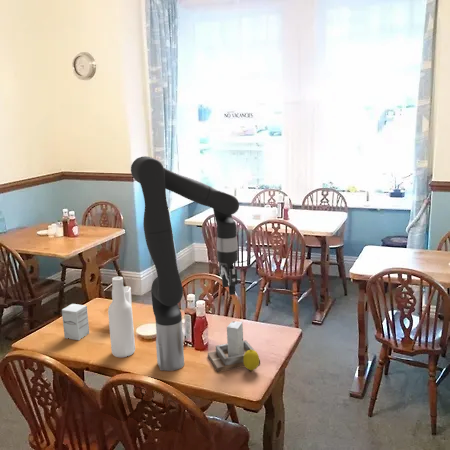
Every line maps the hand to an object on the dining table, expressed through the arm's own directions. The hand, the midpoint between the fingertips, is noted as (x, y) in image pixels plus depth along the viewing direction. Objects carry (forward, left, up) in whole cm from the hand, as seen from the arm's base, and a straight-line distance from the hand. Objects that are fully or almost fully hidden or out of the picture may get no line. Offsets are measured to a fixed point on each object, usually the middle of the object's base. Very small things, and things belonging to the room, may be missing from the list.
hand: (228, 290), depth 191 cm
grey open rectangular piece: (-2, -8, -24) cm, 25 cm away
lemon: (+2, -18, -24) cm, 30 cm away
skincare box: (-1, -8, -22) cm, 24 cm away
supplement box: (-55, +35, -24) cm, 69 cm away
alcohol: (-39, +13, -24) cm, 47 cm away
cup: (-35, +42, -24) cm, 59 cm away
